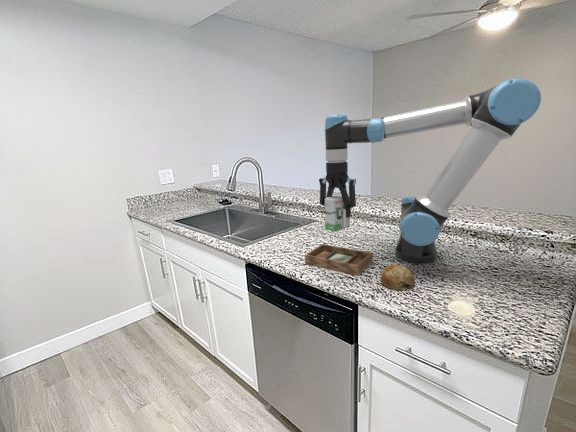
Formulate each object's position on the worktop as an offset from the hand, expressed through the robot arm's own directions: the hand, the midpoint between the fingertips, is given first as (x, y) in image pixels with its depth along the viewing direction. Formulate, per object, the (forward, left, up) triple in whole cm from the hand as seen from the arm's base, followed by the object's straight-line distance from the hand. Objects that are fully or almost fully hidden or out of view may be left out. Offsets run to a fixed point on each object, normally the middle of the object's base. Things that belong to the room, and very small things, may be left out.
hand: (337, 224), depth 112 cm
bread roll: (-23, +6, -16) cm, 29 cm away
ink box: (0, 0, -2) cm, 2 cm away
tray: (0, 0, -15) cm, 15 cm away
